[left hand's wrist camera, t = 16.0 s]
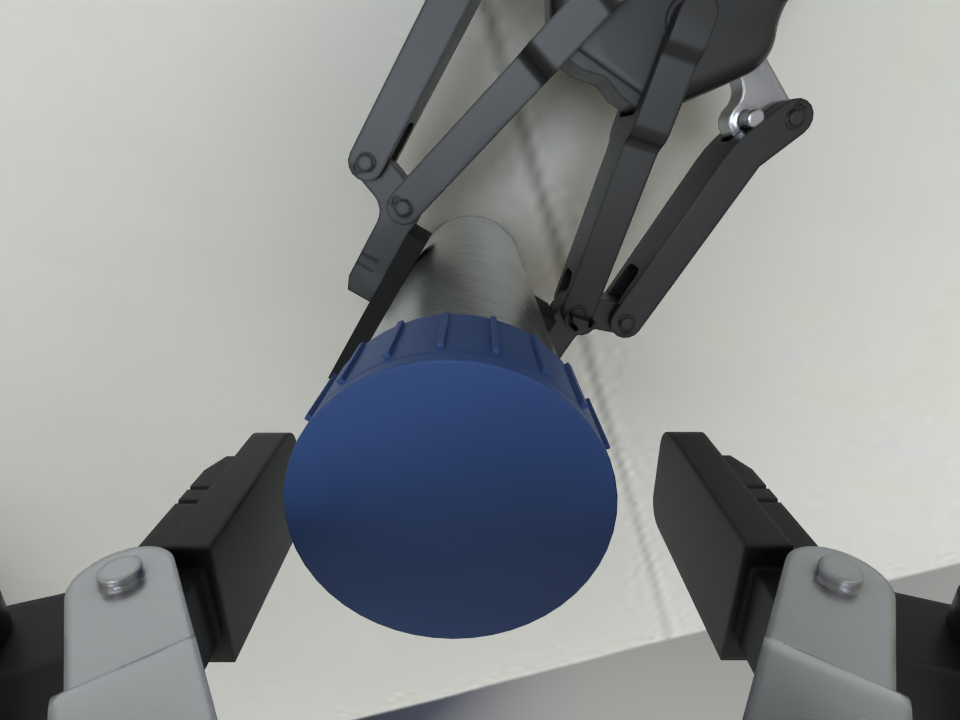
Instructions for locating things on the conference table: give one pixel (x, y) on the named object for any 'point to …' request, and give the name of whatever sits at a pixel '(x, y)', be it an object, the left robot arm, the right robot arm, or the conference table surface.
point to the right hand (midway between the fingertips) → (405, 400)
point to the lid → (452, 480)
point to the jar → (469, 279)
